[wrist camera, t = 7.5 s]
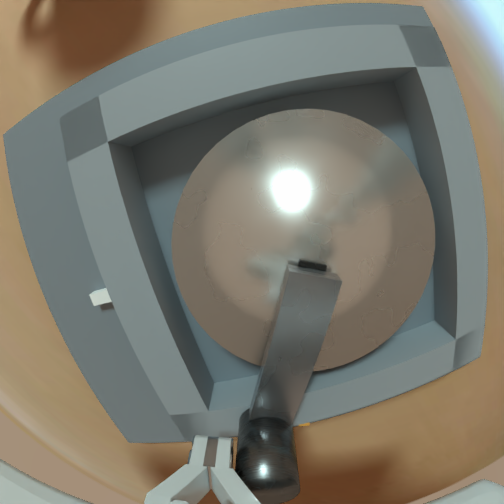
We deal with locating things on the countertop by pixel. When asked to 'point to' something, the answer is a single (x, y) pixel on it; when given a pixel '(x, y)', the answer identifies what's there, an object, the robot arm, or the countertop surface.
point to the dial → (299, 263)
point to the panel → (177, 175)
